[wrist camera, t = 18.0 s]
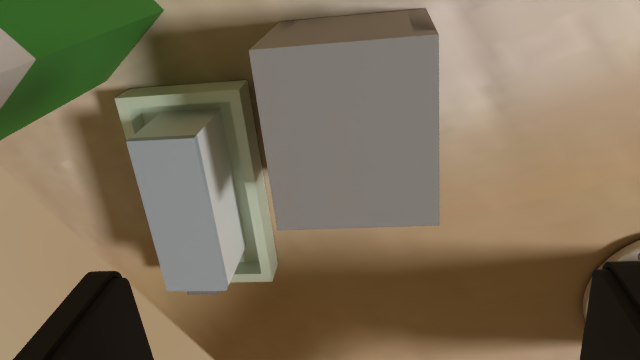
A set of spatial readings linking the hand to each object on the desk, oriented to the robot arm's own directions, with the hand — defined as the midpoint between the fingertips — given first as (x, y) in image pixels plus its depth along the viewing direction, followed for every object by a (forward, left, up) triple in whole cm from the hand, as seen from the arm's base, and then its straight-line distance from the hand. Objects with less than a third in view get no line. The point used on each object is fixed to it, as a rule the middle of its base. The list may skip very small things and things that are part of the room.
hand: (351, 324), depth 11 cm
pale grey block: (+14, +10, -28) cm, 32 cm away
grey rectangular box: (+2, +4, -28) cm, 29 cm away
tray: (+14, +10, -28) cm, 33 cm away
